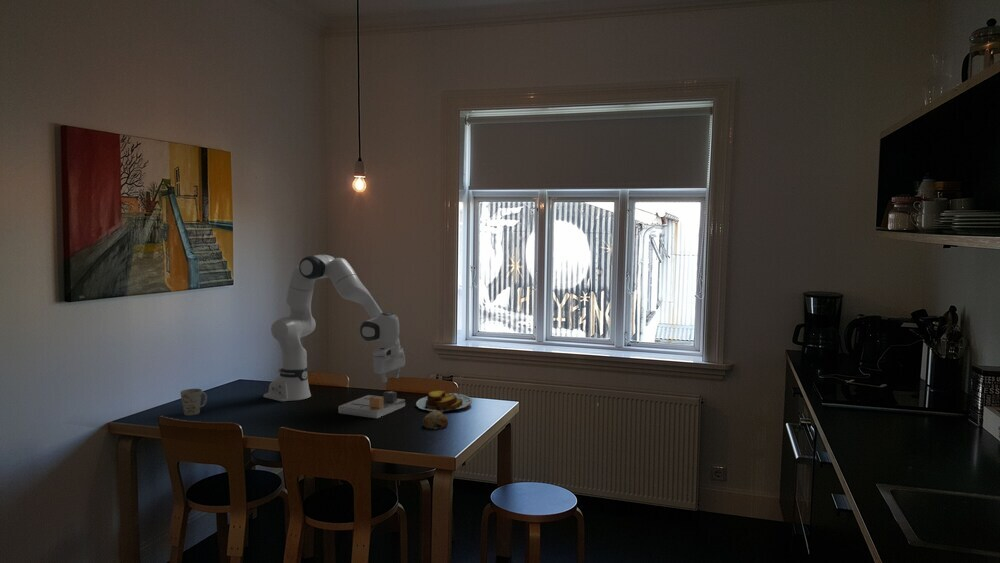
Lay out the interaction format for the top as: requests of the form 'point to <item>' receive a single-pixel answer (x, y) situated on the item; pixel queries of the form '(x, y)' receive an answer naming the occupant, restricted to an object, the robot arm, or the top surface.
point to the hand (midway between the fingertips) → (390, 379)
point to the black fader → (390, 396)
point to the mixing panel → (363, 407)
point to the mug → (192, 401)
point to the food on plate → (443, 401)
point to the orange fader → (376, 401)
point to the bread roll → (435, 420)
